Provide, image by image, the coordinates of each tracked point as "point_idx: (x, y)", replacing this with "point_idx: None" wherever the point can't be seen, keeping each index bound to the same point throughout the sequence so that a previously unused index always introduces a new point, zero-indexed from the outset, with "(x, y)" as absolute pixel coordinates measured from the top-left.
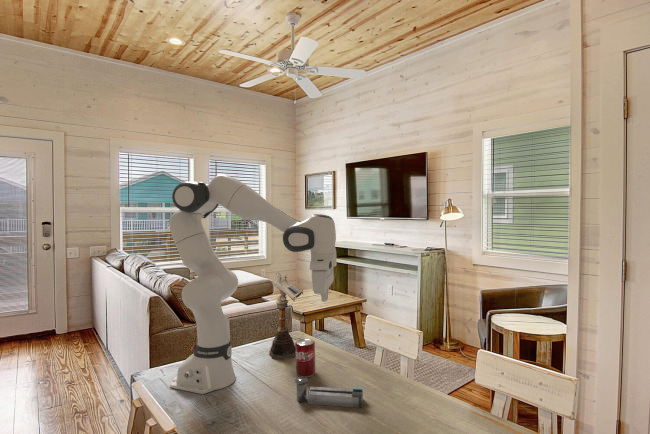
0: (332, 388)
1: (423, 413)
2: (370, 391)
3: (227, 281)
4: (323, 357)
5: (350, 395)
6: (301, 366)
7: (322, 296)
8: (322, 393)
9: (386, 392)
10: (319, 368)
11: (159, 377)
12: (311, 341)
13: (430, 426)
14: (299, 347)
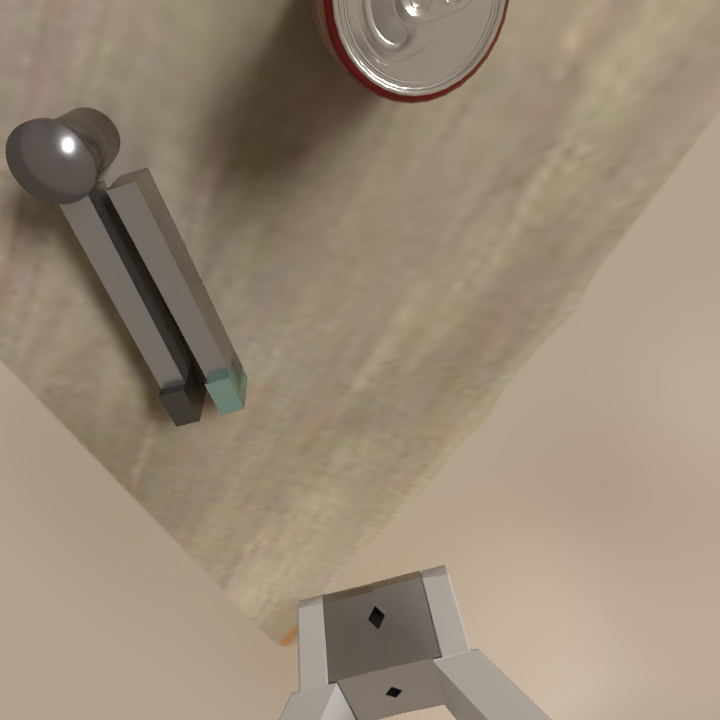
0: (182, 293)
1: (253, 531)
2: (315, 381)
3: None
4: (629, 13)
5: (169, 380)
6: (312, 2)
7: (298, 705)
8: (110, 271)
9: (331, 427)
10: None
11: None
12: (444, 63)
13: (199, 554)
14: None
